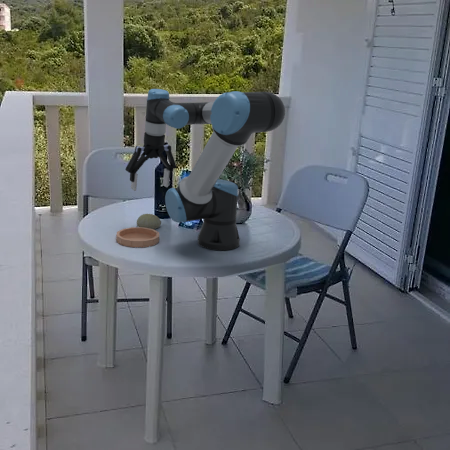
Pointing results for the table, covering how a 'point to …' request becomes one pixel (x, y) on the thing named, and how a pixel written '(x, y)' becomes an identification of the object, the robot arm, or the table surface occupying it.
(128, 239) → the saucer
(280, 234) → the table surface
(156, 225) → the sea urchin shell
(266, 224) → the table surface
